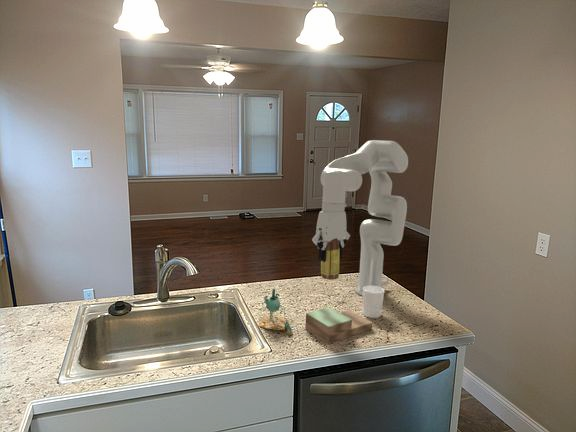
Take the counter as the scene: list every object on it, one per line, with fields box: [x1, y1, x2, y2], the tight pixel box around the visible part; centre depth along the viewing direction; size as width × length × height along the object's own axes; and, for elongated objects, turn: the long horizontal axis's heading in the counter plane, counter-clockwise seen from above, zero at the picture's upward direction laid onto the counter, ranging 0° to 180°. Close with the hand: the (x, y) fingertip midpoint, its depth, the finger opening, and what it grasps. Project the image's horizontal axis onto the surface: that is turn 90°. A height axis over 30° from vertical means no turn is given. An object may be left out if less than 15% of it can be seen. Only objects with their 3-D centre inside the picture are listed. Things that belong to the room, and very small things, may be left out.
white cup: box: [362, 286, 385, 319], centre depth 160 cm, size 8×8×10 cm
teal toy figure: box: [258, 288, 294, 336], centre depth 148 cm, size 10×18×15 cm, turn 29°
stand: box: [304, 306, 374, 345], centre depth 147 cm, size 20×12×6 cm, turn 125°
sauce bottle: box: [320, 238, 340, 281], centre depth 145 cm, size 7×6×20 cm
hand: (330, 258), depth 146 cm, fingers closed on sauce bottle, 6 cm apart
